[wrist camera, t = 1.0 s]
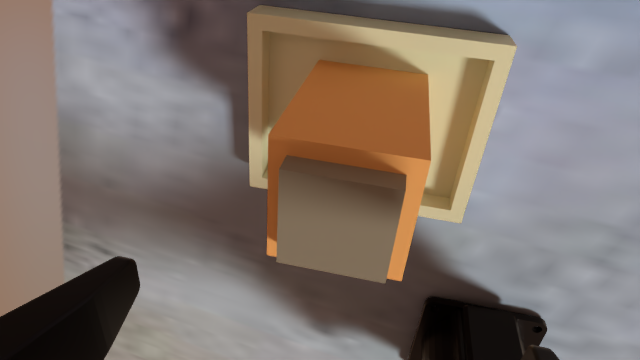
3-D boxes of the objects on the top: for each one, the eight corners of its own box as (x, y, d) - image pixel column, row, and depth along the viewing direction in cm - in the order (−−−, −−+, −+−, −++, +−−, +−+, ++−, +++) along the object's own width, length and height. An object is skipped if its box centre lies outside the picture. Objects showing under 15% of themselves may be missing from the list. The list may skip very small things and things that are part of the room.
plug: (407, 169, 20) (400, 300, 13) (312, 153, 21) (259, 271, 14) (428, 74, 18) (431, 176, 11) (319, 59, 18) (259, 148, 12)
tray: (458, 203, 21) (461, 223, 20) (259, 169, 22) (249, 186, 21) (509, 35, 17) (516, 46, 16) (260, 4, 18) (247, 12, 17)
